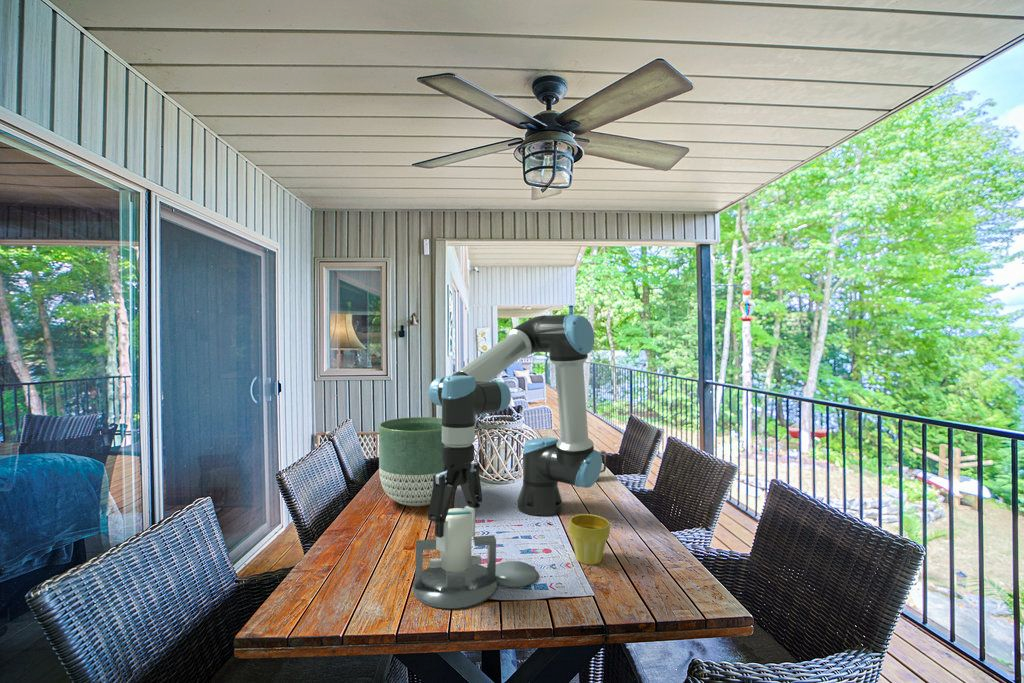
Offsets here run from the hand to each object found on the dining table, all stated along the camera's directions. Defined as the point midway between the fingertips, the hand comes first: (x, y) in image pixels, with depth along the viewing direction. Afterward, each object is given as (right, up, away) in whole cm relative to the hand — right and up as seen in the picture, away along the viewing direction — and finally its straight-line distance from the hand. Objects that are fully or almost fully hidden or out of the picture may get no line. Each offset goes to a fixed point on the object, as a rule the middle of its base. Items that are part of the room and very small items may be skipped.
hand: (456, 542), depth 105 cm
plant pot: (+33, -11, +14) cm, 37 cm away
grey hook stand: (0, -10, 0) cm, 10 cm away
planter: (-20, -10, +53) cm, 57 cm away
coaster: (+13, -10, +5) cm, 17 cm away
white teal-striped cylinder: (0, -5, 0) cm, 5 cm away
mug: (+46, -11, +82) cm, 95 cm away
